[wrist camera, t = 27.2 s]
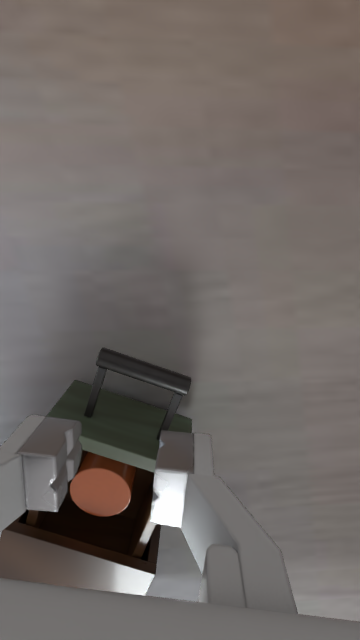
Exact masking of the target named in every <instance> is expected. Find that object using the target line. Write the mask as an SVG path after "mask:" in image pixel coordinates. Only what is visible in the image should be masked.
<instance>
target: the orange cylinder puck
mask: <svg viewBox="0 0 360 640" xmlns="http://www.w3.org/2000/svg"><path fill="white" fill-rule="evenodd" d="M137 470H138V467H135V466H132V465H129V464H125V463H122V462H119V461H116V460H113V459H110V458H107V457H104V456H101V455H98V454H94V453H91V452H88V451H86V452H85V454H84V456H83V458H82V460H81V462H80V464H79V468H78V471H77V473H76V475H75V477H74V478H73V479H72V481H71V483H70V495H71V498H72V500H73V501H74V503H75V504H76V505H77V506H78V507H79V508H80V509H82V510H83V511H85V512H87V513H89V514H91V515H95V516H101V517H107V516H113V515H116V514H119V513H120V512H122V511H123V510H125V508H126V507H127V506H128V505H129V503H130V500H131V496H132V492H133V488H134V483H135V479H136V475H137Z"/></svg>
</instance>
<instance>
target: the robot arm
mask: <svg viewBox="0 0 360 640" xmlns="http://www.w3.org/2000/svg"><path fill="white" fill-rule="evenodd" d="M81 433H82V424H81V422H80V421H78V420H70V419H63V418H56V417H46V416H39V415H30V416H28V417H27V418H26V419H25V420H24V421H23V422H22V423H21V425H20V426H19V427H18V428H17V429H16V430H15V431H14V432H13V433H12V435H11V436H10V437H9V438H8V439H7V440H6V441H5V442H4V443H3V445H2V446H1V447H0V532H1V531H2V530H4V529H5V528H6V527H7V526H8V525H10V524H11V523H12V522H13V521H15V520H16V519H17V518H18V517H20V516H21V515H22V514H23V513H24V512H26V509H27V510H39V511H51V512H58V510H59V508H60V506H61V504H62V502H63V500H64V498H65V496H66V494H67V491H68V482H69V481H70V480H72V479H73V478H74V477H75V475H76V473H77V471H78V468H79V464H80V461H81V454H82V444H81V443H80V441H79V440H78V439H79V437H80V435H81ZM153 490H154V492H153V499H152V508H151V521H150V523H154V524H161V525H168V526H174V527H181V530H182V532H183V534H184V537H185V539H186V541H187V543H188V545H189V547H190V549H191V551H192V554H193V556H194V558H195V560H196V562H197V564H198V566H199V568H200V571H201V573H202V580H201V585H200V591H199V597H198V602H194V601H186V600H178V599H169V598H161V597H153V596H144V595H136V594H128V593H119V592H111V591H103V590H94V589H86V588H78V587H70V586H62V585H53V584H45V583H37V582H29V581H21V580H12V579H4V578H0V640H360V622H359V621H351V620H342V619H334V618H326V617H318V616H310V615H301V614H298V612H297V608H296V605H295V601H294V597H293V593H292V590H291V586H290V582H289V578H288V575H287V571H286V567H285V564H284V560H283V556H282V552H281V550H280V549H279V547H278V546H277V545H276V544H275V543H274V541H273V540H272V539H271V538H270V537H269V535H268V534H267V533H266V532H265V531H264V529H263V528H262V527H261V526H260V525H259V523H258V522H257V521H256V520H255V519H254V517H253V516H252V515H251V514H250V513H249V511H248V510H247V509H246V508H245V507H244V505H243V504H242V503H241V502H240V501H239V499H238V498H237V497H236V496H235V495H234V493H233V492H232V491H231V490H230V489H229V487H228V486H227V485H226V484H225V483H224V481H223V480H222V479H221V478H220V477H216V476H214V464H213V452H212V440H211V435H210V434H201V433H194V434H193V433H184V432H175V431H166V430H161V435H160V442H159V449H158V453H157V459H156V466H155V474H154V484H153Z"/></svg>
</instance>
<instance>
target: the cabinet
mask: <svg viewBox="0 0 360 640" xmlns="http://www.w3.org/2000/svg"><path fill="white" fill-rule="evenodd" d="M28 513H29V510H27V509H26V512H24V513H23V514H22V515H21V516H20V517H18V518H17V519H16V520H15V521H13V522H12V523H11V524H10V525H8V526H7V527H6V528H5V529H4V530H2V533H1V537H0V578H4V579H12V580H21V581H29V582H37V583H45V584H53V585H62V586H70V587H78V588H86V589H94V590H103V591H111V592H119V593H128V594H136V595H144V596H145V595H146V593H147V591H148V589H149V587H150V584H151V582H152V580H153V578H154V576H155V573H156V564H157V556H158V547H159V538H160V529H161V524H156V526H155V528H154V530H153V533H152V535H151V537H150V539H149V541H148V544H147V546H146V548H145V550H144V552H143V555H142V557H141V559H138V558H134V557H131V556H128V555H125V554H121V553H118V552H115V551H111V550H108V549H105V548H101V547H98V546H95V545H92V544H88V543H85V542H82V541H78V540H75V539H72V538H68V537H65V536H62V535H59V534H55V533H52V532H49V531H45V530H42V529H39V528H36V527H32V526H29V525H26V520H27V516H28Z"/></svg>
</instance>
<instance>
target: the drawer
mask: <svg viewBox="0 0 360 640" xmlns="http://www.w3.org/2000/svg"><path fill="white" fill-rule="evenodd" d="M96 365H97V366H99V367H98V370H97V373H96V377H95V380H94V383H93V386H92V385H89V384H86V383H83V382H80V381H77V380H75V381H74V382H73V383H72V384H71V386H70V387H69V388H68V389H67V391H66V392H65V393H64V394H63V396H62V397H61V398H60V400H59V401H58V402H57V403H56V405H55V406H54V407H53V408H52V410H51V411H50V412H49V413H48V415H47V416H46V417H56V418H63V419H70V420H78V421H80V422H81V424H82V433H81V435H80V437H79V439H78V440H79V441H80V443H81V444H82V454H81V460H82V458H83V456H84V454H85V452H86V451H88V452H91V453H94V454H98V455H101V456H104V457H107V458H110V459H113V460H116V461H119V462H122V463H125V464H129V465H132V466H135V467H138V470H137V475H136V479H135V483H134V488H133V492H132V496H131V500H130V503H129V505H128V506H127V507H126V508H125V510H123V511H122V512H120V513H119V514H116V515H113V516H107V517H101V516H95V515H91V514H89V513H87V512H85V511H83V510H82V509H80V508H79V507H78V506H77V505H76V504H75V503H74V501H73V500H72V498H71V495H70V483H71V481H72V480H70V481H69V482H68V491H67V494H66V496H65V498H64V500H63V502H62V504H61V506H60V508H59V510H58V512H51V511H39V510H29V513H28V516H27V520H26V525H29V526H32V527H36V528H39V529H42V530H45V531H49V532H52V533H55V534H59V535H62V536H65V537H68V538H72V539H75V540H78V541H82V542H85V543H88V544H92V545H95V546H98V547H101V548H105V549H108V550H111V551H115V552H118V553H121V554H125V555H128V556H131V557H134V558H138V559H141V557H142V555H143V552H144V550H145V548H146V546H147V544H148V541H149V539H150V537H151V535H152V533H153V530H154V528H155V526H156V524H154V523H150V521H151V508H152V499H153V492H154V490H153V484H154V474H155V466H156V459H157V453H158V449H159V442H160V435H161V430H166V431H175V432H184V433H192V419H190V418H187V417H184V416H181V415H178V414H175V412H176V410H177V408H178V405H179V403H180V400H181V398H182V395H186V394H187V393H188V390H189V388H190V384H191V377H188V376H185V375H182V374H179V373H176V372H173V371H170V370H168V369H165V368H162V367H159V366H156V365H153V364H150V363H147V362H144V361H141V360H139V359H136V358H133V357H130V356H127V355H124V354H121V353H118V352H115V351H112V350H110V349H107V348H102V349H101V351H100V352H99V355H98V357H97V361H96ZM107 369H108V370H111V371H114V372H117V373H120V374H123V375H126V376H129V377H132V378H135V379H138V380H141V381H144V382H146V383H149V384H152V385H155V386H158V387H161V388H164V389H167V390H170V391H173V392H174V394H173V397H172V399H171V402H170V404H169V407H168V409H167V411H166V410H163V409H160V408H157V407H154V406H151V405H148V404H145V403H142V402H139V401H136V400H133V399H130V398H127V397H125V396H122V395H119V394H116V393H113V392H110V391H107V390H104V389H101V387H102V384H103V381H104V378H105V375H106V371H107ZM80 462H81V461H80Z"/></svg>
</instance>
